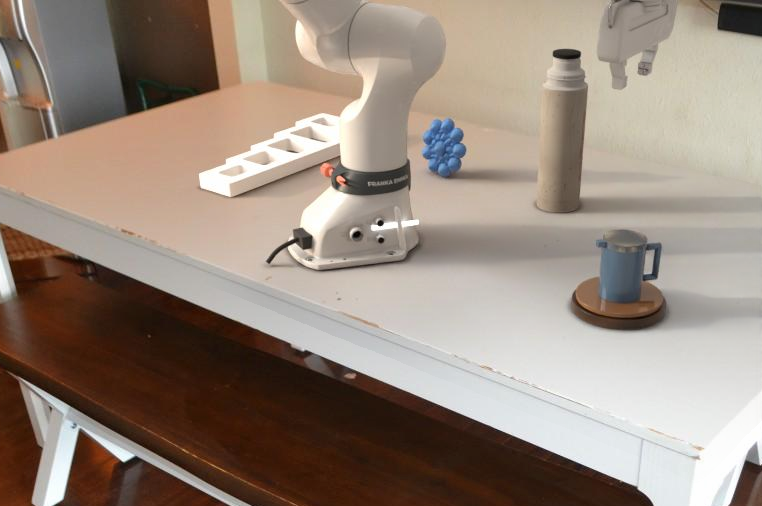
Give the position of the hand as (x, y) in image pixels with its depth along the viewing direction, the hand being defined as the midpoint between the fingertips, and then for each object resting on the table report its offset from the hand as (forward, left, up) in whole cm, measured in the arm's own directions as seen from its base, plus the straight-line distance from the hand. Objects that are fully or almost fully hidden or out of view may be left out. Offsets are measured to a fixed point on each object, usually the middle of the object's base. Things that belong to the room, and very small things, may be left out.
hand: (631, 81), depth 148 cm
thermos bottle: (+5, +25, -29) cm, 39 cm away
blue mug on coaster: (-10, -15, -27) cm, 33 cm away
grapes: (-6, +49, -29) cm, 57 cm away
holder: (-32, +75, -29) cm, 87 cm away
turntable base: (-10, -15, -29) cm, 34 cm away
